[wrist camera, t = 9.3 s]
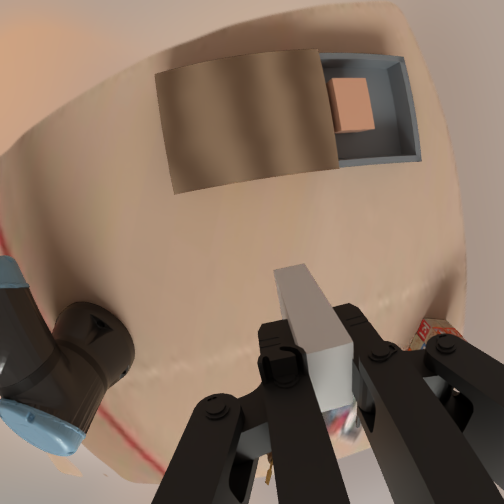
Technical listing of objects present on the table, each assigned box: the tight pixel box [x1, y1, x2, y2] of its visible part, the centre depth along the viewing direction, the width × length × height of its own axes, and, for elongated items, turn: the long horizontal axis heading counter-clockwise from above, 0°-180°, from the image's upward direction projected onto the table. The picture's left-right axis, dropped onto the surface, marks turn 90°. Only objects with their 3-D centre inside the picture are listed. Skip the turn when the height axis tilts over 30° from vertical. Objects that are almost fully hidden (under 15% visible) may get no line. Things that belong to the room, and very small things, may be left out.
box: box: [319, 53, 422, 168], centre depth 31 cm, size 12×14×4 cm
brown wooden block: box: [155, 49, 339, 195], centre depth 31 cm, size 18×14×6 cm
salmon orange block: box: [326, 78, 375, 134], centre depth 30 cm, size 6×6×4 cm
